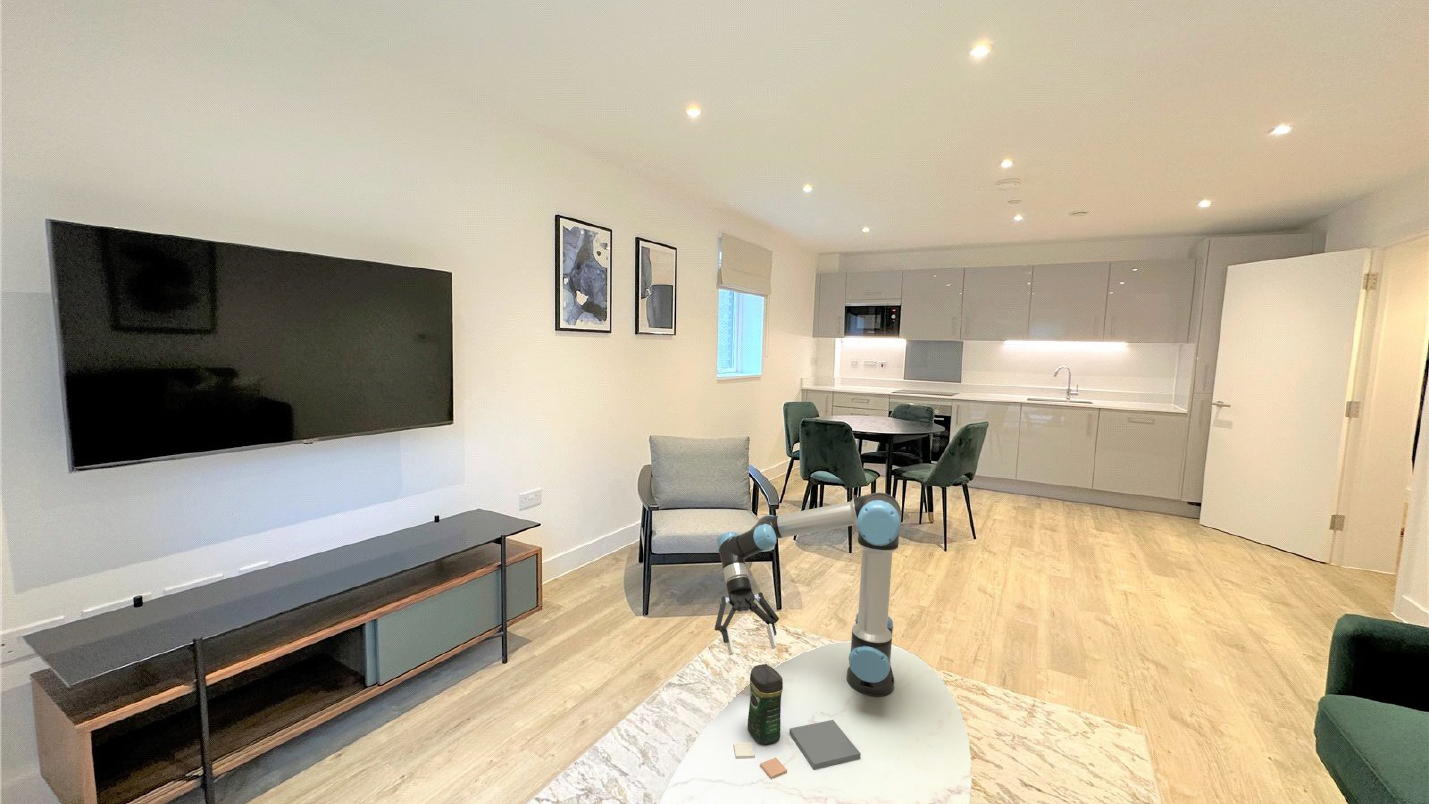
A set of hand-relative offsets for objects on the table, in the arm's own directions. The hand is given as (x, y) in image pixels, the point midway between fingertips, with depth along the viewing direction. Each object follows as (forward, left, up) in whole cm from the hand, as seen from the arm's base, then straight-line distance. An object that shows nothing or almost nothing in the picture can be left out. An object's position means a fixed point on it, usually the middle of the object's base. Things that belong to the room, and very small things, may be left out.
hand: (753, 650), depth 162 cm
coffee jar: (0, +9, -19) cm, 22 cm away
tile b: (+8, +14, -20) cm, 26 cm away
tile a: (+3, +22, -20) cm, 30 cm away
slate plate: (-14, +18, -19) cm, 30 cm away
